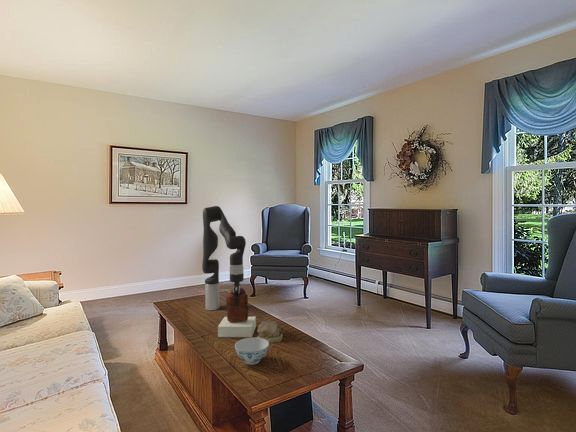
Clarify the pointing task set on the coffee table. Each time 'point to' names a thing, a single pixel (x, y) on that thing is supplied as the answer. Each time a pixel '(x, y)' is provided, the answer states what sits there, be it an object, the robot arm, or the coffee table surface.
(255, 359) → the chinaware
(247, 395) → the coffee table surface
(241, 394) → the coffee table surface
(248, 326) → the cream white square block
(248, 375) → the coffee table surface
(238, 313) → the wooden figurine
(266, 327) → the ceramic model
